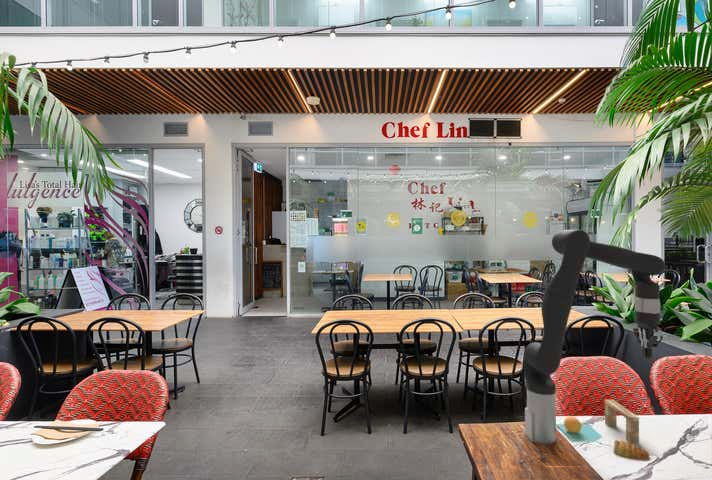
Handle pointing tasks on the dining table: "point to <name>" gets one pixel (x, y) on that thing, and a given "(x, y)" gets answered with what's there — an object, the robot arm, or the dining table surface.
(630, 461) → the dining table surface
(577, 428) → the ball
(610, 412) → the bridge
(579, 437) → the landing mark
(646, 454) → the pastry
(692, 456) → the dining table surface
